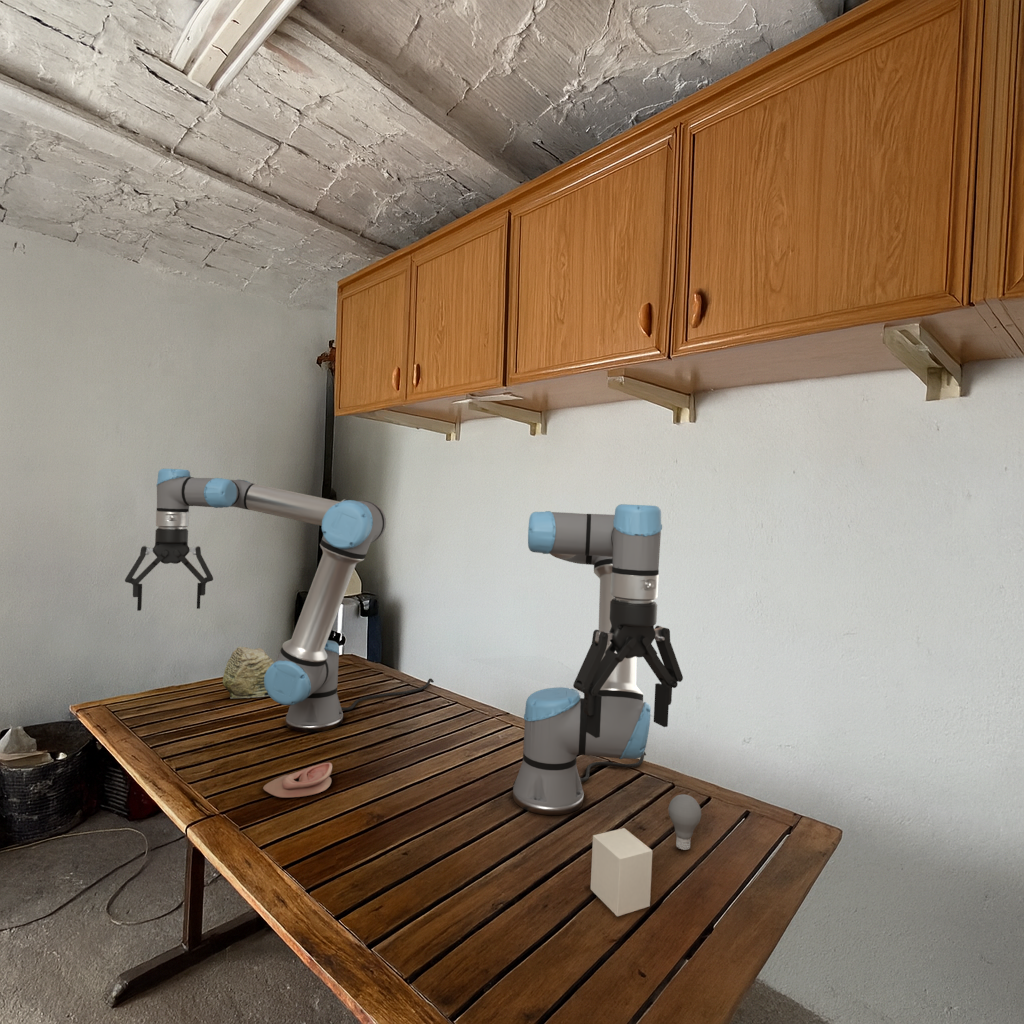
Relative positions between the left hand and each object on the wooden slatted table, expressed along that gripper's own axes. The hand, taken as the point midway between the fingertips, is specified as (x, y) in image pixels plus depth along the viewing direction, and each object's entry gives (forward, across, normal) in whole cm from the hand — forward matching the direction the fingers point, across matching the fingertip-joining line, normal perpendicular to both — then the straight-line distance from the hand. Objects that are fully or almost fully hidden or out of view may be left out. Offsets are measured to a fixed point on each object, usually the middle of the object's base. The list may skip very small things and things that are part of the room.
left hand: (169, 608), depth 166 cm
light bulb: (+32, +89, -98) cm, 136 cm away
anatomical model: (+32, +27, -46) cm, 62 cm away
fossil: (+32, +24, +23) cm, 46 cm away
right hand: (+4, +69, -105) cm, 126 cm away
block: (+32, +69, -105) cm, 130 cm away
